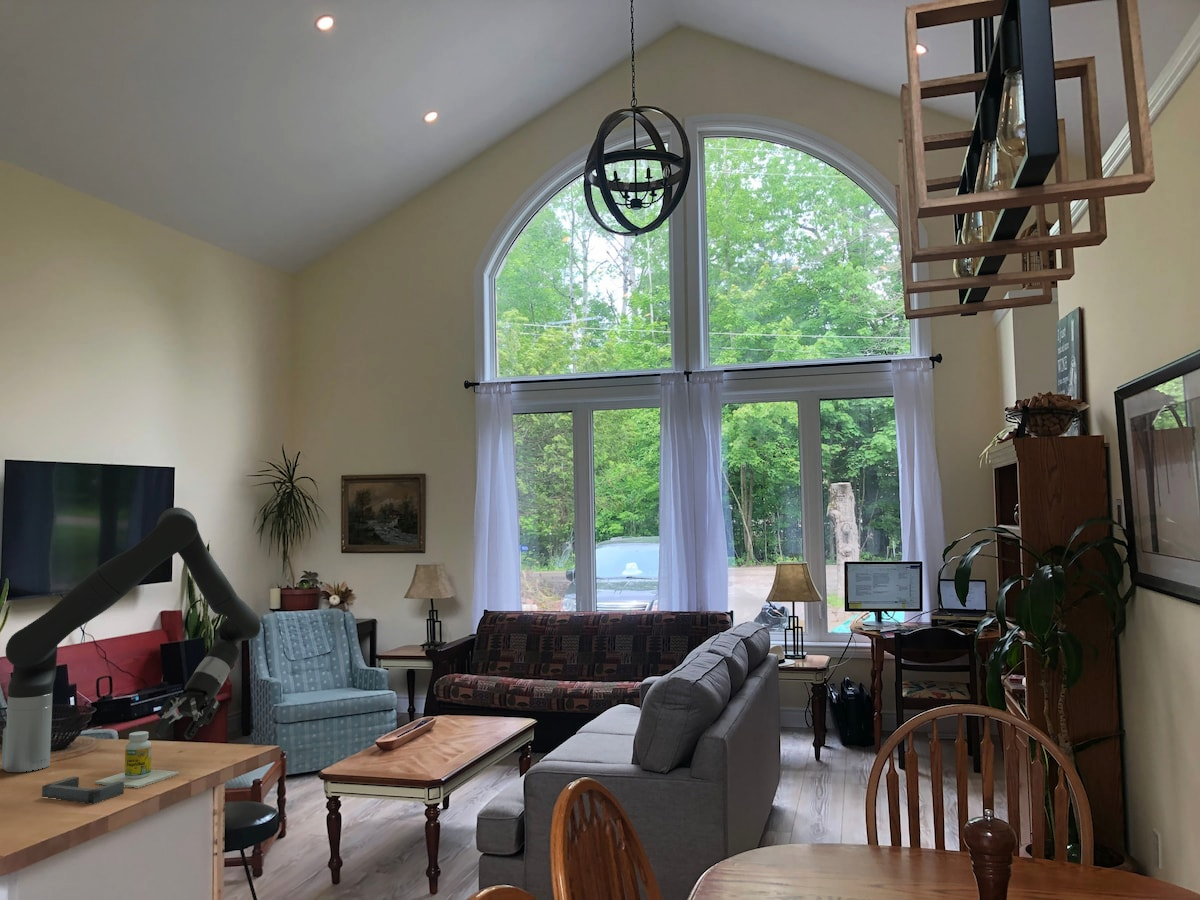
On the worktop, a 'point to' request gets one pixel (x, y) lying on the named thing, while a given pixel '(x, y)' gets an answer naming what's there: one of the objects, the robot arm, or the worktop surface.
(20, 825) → the worktop surface
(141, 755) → the supplement bottle
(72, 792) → the bracket
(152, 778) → the cream pad
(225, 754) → the worktop surface
